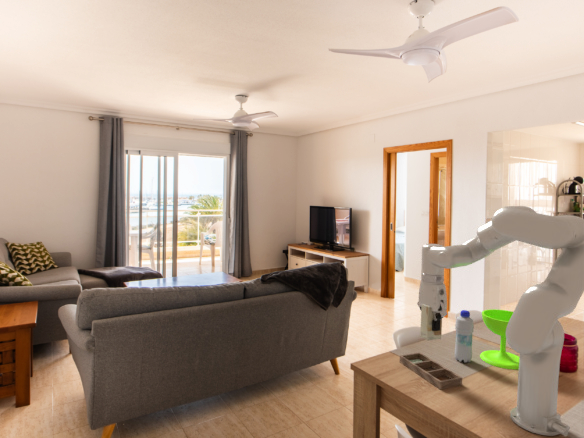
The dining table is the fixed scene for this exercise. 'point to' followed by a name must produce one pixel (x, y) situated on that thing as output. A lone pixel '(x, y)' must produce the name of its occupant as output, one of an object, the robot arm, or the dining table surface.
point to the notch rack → (431, 375)
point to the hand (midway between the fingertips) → (431, 327)
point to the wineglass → (498, 325)
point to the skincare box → (428, 324)
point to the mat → (415, 360)
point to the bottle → (464, 337)
